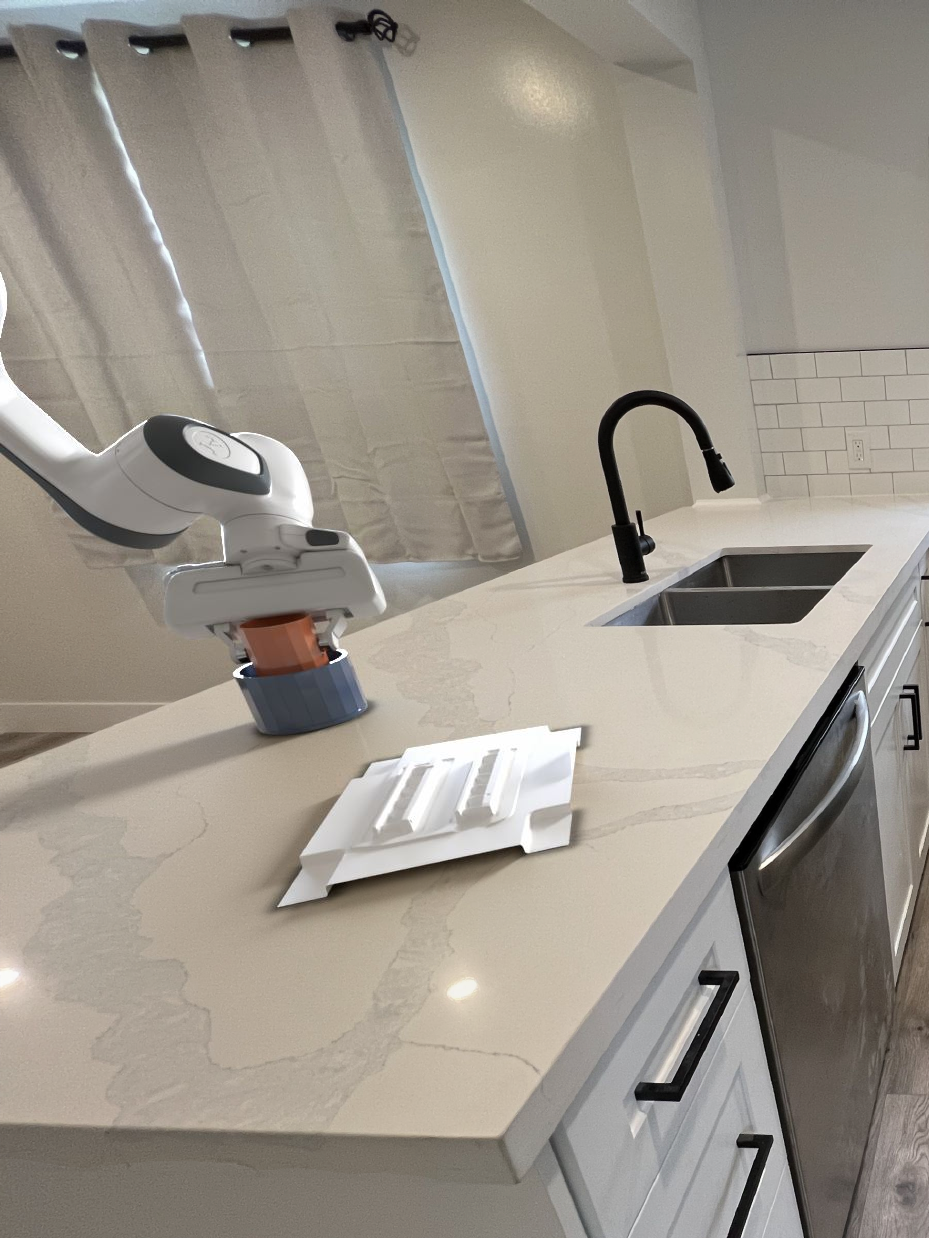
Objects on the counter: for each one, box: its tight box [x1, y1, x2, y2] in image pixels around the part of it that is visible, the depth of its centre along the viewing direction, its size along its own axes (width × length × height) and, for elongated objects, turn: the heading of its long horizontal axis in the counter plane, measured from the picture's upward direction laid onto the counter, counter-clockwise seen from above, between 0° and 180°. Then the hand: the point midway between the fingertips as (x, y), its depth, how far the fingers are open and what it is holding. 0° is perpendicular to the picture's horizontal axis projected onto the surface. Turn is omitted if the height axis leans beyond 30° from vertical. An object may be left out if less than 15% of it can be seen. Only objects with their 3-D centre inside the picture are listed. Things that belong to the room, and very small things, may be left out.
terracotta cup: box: [236, 613, 330, 677], centre depth 94 cm, size 7×7×9 cm
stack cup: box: [232, 648, 369, 736], centre depth 95 cm, size 11×11×7 cm
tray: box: [277, 724, 582, 908], centre depth 75 cm, size 20×28×4 cm
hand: (287, 654), depth 93 cm, fingers closed on terracotta cup, 7 cm apart
